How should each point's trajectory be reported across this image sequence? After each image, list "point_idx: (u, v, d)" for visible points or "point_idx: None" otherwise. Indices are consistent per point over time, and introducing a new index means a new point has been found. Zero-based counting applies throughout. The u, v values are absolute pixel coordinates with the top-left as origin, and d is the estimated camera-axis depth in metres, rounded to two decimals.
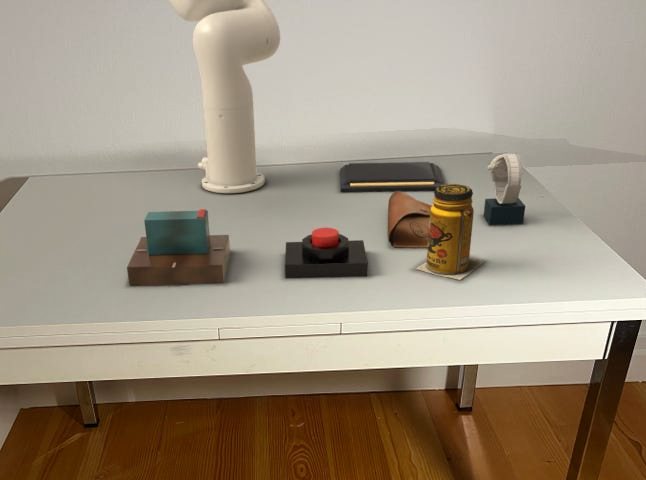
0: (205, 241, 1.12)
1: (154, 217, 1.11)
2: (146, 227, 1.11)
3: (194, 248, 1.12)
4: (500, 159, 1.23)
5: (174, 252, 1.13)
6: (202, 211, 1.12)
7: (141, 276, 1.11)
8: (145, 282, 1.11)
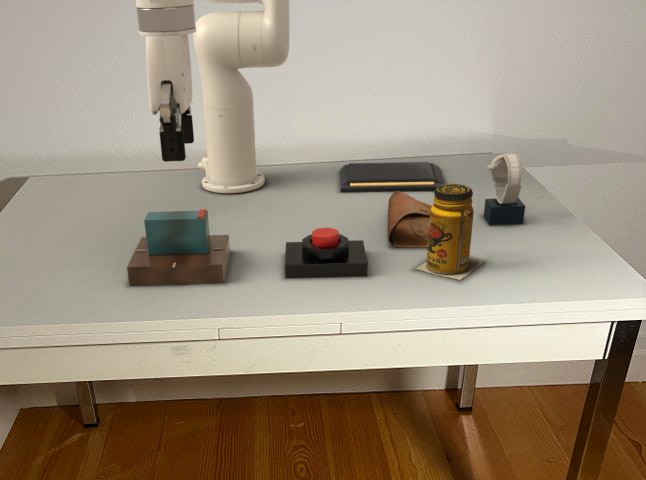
0: (205, 241, 1.12)
1: (154, 217, 1.11)
2: (146, 227, 1.11)
3: (194, 248, 1.12)
4: (500, 159, 1.23)
5: (174, 252, 1.13)
6: (202, 211, 1.12)
7: (141, 276, 1.11)
8: (145, 282, 1.11)
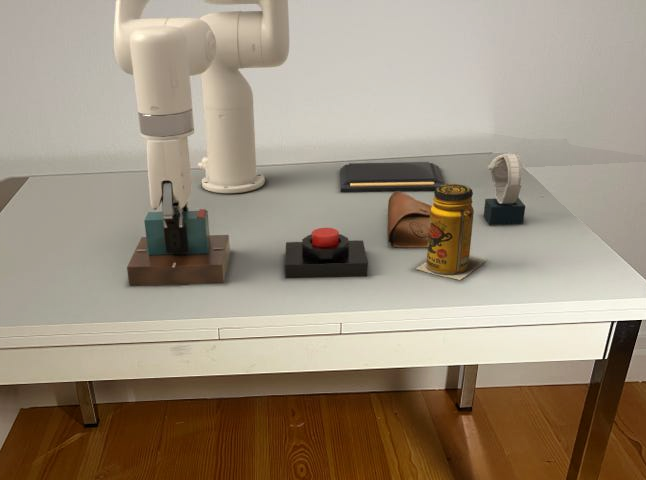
0: (205, 241, 1.12)
1: (154, 217, 1.11)
2: (146, 227, 1.11)
3: (194, 248, 1.12)
4: (500, 159, 1.23)
5: None
6: (202, 211, 1.12)
7: (141, 276, 1.11)
8: (145, 282, 1.11)
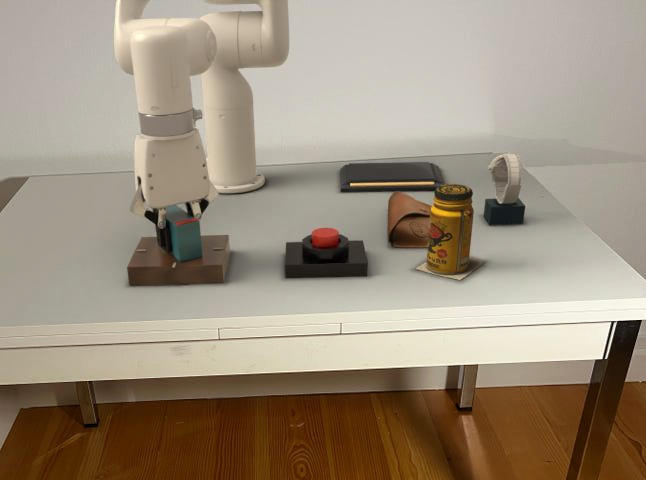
0: (178, 249, 1.10)
1: None
2: None
3: (174, 252, 1.12)
4: (500, 159, 1.23)
5: None
6: (191, 219, 1.09)
7: (141, 276, 1.11)
8: (145, 282, 1.11)
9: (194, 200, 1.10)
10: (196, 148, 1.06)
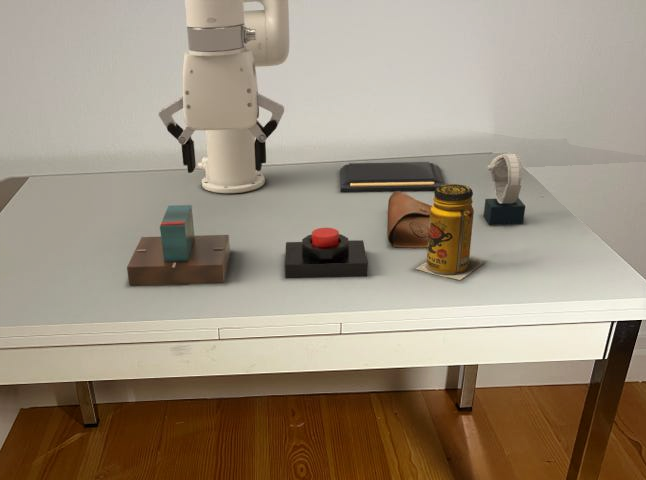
0: None
1: (173, 208, 1.15)
2: None
3: None
4: (500, 159, 1.23)
5: None
6: (178, 222, 1.08)
7: (141, 276, 1.11)
8: (145, 282, 1.11)
9: (238, 128, 1.03)
10: (240, 70, 0.99)
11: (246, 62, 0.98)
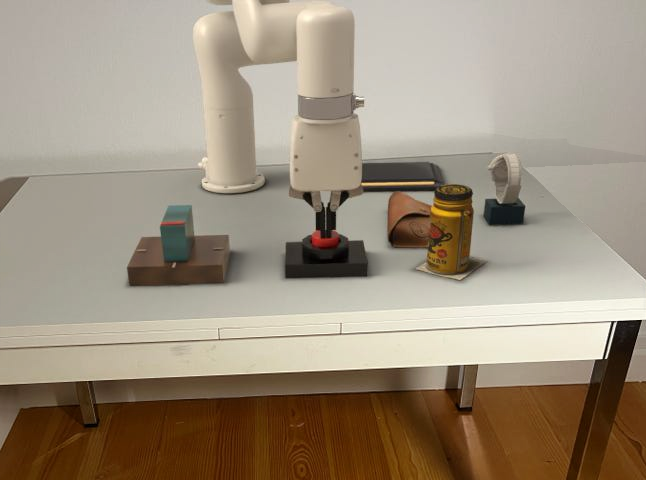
0: None
1: (173, 208, 1.15)
2: None
3: None
4: (500, 159, 1.23)
5: None
6: (178, 222, 1.08)
7: (141, 276, 1.11)
8: (145, 282, 1.11)
9: (342, 189, 1.07)
10: (349, 136, 1.02)
11: (355, 128, 1.02)
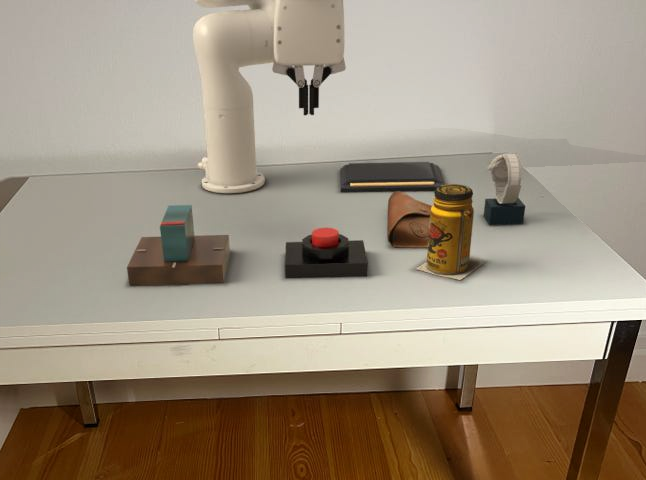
0: None
1: (173, 208, 1.15)
2: None
3: None
4: (500, 159, 1.23)
5: None
6: (178, 222, 1.08)
7: (141, 276, 1.11)
8: (145, 282, 1.11)
9: (325, 64, 1.09)
10: (332, 7, 1.04)
11: None
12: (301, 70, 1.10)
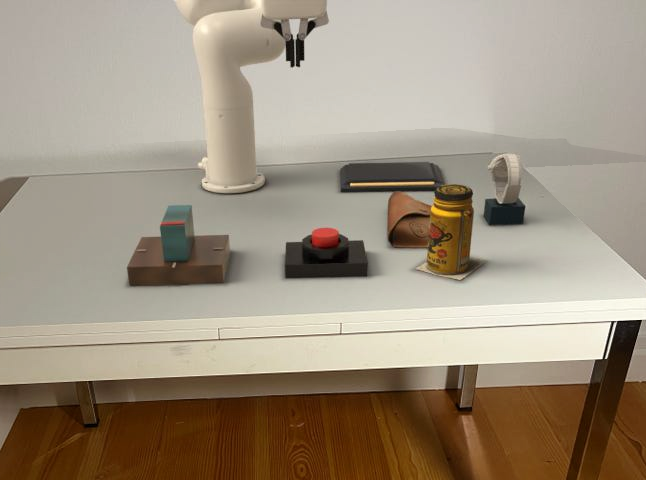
0: None
1: (173, 208, 1.15)
2: None
3: None
4: (500, 159, 1.23)
5: None
6: (178, 222, 1.08)
7: (141, 276, 1.11)
8: (145, 282, 1.11)
9: (309, 17, 1.17)
10: None
11: None
12: (287, 24, 1.18)
